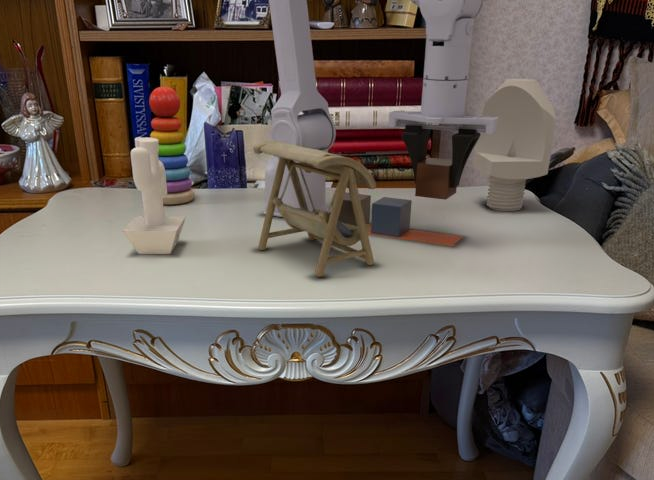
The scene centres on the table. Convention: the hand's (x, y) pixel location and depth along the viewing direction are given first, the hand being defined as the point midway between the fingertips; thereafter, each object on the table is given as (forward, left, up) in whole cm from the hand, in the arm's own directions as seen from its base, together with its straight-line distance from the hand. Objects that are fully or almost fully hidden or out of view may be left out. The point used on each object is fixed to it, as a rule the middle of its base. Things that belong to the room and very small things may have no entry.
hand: (436, 184), depth 93 cm
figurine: (-32, -22, -8) cm, 40 cm away
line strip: (-7, +1, -8) cm, 11 cm away
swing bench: (-12, -15, -8) cm, 21 cm away
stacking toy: (-48, +1, -8) cm, 49 cm away
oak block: (-13, +1, -8) cm, 16 cm away
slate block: (-7, +1, -8) cm, 11 cm away
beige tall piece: (+5, +24, -8) cm, 26 cm away
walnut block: (0, 0, -1) cm, 1 cm away
